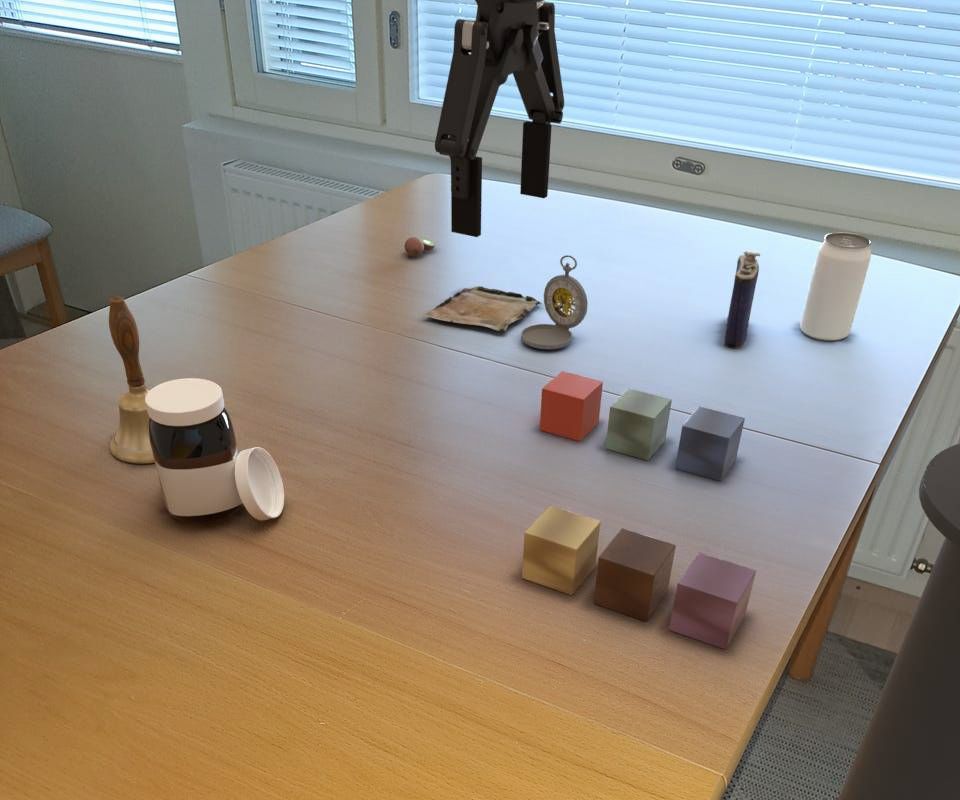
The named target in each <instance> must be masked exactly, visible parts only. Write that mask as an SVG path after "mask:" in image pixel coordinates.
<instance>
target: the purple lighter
mask: <svg viewBox="0 0 960 800" xmlns="http://www.w3.org/2000/svg"><path fill="white" fill-rule="evenodd" d="M760 256H761V253H760V252H752V251H750V252H749V251H747V250H746V251H743V254H741V255H739V257H738V258H737V261H736V262H737V263H736V269H735V275H734V282H733V287H732V292H731V297H730V304H729V309H728V314H727V318H726V324H725V326H726V327H725V330H724V333H725V334H724V338H723V345H724V346H725V347H727V348H729V349H739V348H742V346H743V345H744V344H745V342H746V340H747V335H748V328H749V323H750V317H751V313H752V307H753V302H754V297H755V292H756V286H757V282H758V277H759V271H760V265H759V261H758V259H757V258H756V257H760Z"/></svg>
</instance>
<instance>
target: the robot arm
mask: <svg viewBox="0 0 960 800" xmlns="http://www.w3.org/2000/svg"><path fill="white" fill-rule="evenodd" d="M474 2H475V3H476V5H477V8H476V16H475V20H472V19H471V20H469V19H462V18H458V19H456V21H455V23H454V31H453V50H452V51H453V52H452V57H451V62H450V67H449V71H448V77H447V81H446V87H445V91H444V97H443V102H442V107H441V112H440V117H439V121H438V125H437V131H436V134H435V135H436V136H435V140H434V141H435V142H434V149H435V152H436V153H438V154H439V155H442V156H446V157H449V159H450V209H451V211H450V214H451V215H450V216H451V218H450V219H451V221H450V225H451V226H450V227H451V229H450V230H451V231H450V232H451V233H455V234H459V235H463V236H464V235H465V236H470V237H474V238H478V237H480V236H481V235H482V193H483V191H482V190H483V157H482V156H477V154H478V151H479V148H480V146H481V142H482V139H483V136H484V133H485V131H486V127H487V124H488V121H489V119H490V115H491V112H492V109H493V106H494V103H495V100H496V97H497V95H498V92H499V89H500V87H501V86H502V85H504V84H505V83H506V82H507V81H508V78H509V76H510V75H513V78H514V81H515V84H516V88H517V89H518V92H519V95H520V98H521V101H522V103H523V106H524V109H525V111H526V114H527V117H528V119H529V120H531V121H528V120H526V121H524V122H523V123H522V139H521V140H522V141H521V142H522V143H521V146H522V147H521V164H520V165H521V166H520V169H521V170H520V189H519V190H520V192H519V193H520V194H519V195H523V196H529V197H534V198H539V199H546V198H547V197H548V194H549V177H550V159H551V143H552V142H551V141H552V124H561V123H562V122H563V118H564V112H563V110H564V108H565V96H564V95H565V94H564V90H563V89H564V88H563V82H562V81H563V80H562V75H561V74H562V73H561V67H560V59H559V52H558V45H557V37H556V31H555V29H556V27H555V25H556V23H555V22H556V7H555V4H554V2H549V1H548V2H547V1H545V0H474ZM551 94H552V95H551Z"/></svg>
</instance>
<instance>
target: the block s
mask: <svg viewBox="0 0 960 800" xmlns="http://www.w3.org/2000/svg"><path fill="white" fill-rule="evenodd" d="M603 385H604V381H602V380H600V379H599V380H598V379H594V378H591V377H587V376H583V375H579V374H575V373H570V372H567V371H563V370H562V371H560V372H559V373H558V374H557V375H556V376H555V377H553V378H552V379H551V380H550V381H549V382H547V384H546V385H544V386H543V387H542V388H541V399H540V415H539V417H540V418H539V431H542V432H546V433H549V434H552V435H557V436H560V437H562V438H566V439H570V440H573V441H577V442H581V441H583V439H584V438H586V436H587V435H588V434H589V433H590V432H591V431H592V430H593V429H594V428H595V427H596V426H597V425H598V424H599V423H600V415H601V406H602V405H601V404H602V397H603V396H602V395H603Z"/></svg>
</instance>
